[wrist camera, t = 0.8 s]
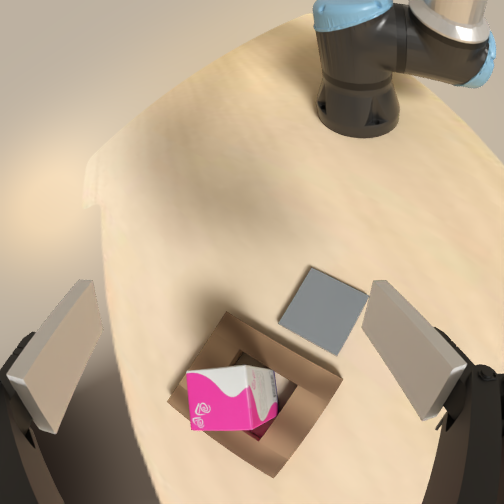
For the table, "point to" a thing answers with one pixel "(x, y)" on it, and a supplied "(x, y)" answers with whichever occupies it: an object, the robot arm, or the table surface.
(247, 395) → the supplement box
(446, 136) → the table surface
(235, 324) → the board
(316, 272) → the coaster
